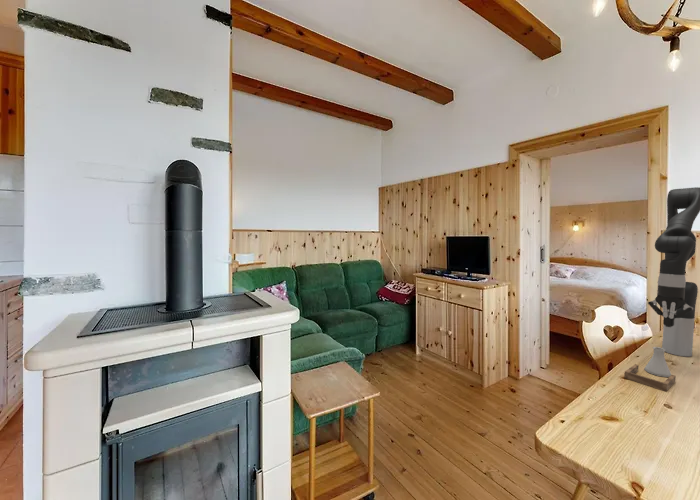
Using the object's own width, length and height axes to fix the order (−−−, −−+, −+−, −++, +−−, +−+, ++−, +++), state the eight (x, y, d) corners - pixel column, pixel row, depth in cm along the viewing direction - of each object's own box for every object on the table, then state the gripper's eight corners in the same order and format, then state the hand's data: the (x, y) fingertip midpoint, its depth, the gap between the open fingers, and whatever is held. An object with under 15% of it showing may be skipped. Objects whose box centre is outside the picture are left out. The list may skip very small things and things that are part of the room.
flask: (658, 369, 117) (660, 345, 117) (677, 378, 110) (678, 352, 109) (639, 368, 118) (640, 344, 117) (656, 377, 111) (657, 351, 110)
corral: (634, 370, 116) (635, 364, 116) (675, 382, 107) (675, 375, 107) (624, 378, 110) (624, 371, 110) (666, 391, 101) (666, 384, 101)
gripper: (698, 286, 114) (695, 329, 115) (651, 281, 126) (648, 321, 127) (694, 288, 110) (690, 333, 111) (645, 283, 122) (643, 323, 123)
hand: (668, 326), depth 119 cm, fingers closed
